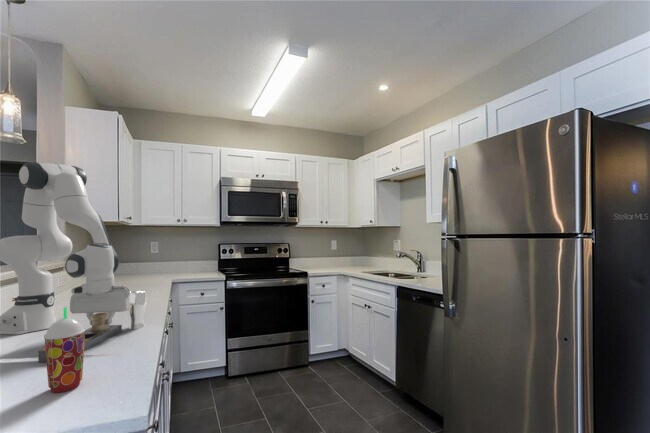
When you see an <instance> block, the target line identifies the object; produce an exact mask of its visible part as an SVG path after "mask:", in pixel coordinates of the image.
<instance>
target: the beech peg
mask: <svg viewBox="0 0 650 433" xmlns="http://www.w3.org/2000/svg"><path fill="white" fill-rule="evenodd" d="M108 317H109V315H108V312H101V313H94V315H92V325H91V327H92V331H104V330H106V329H108V328H110V325H111V324H105V320H106V319H108Z"/></svg>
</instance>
